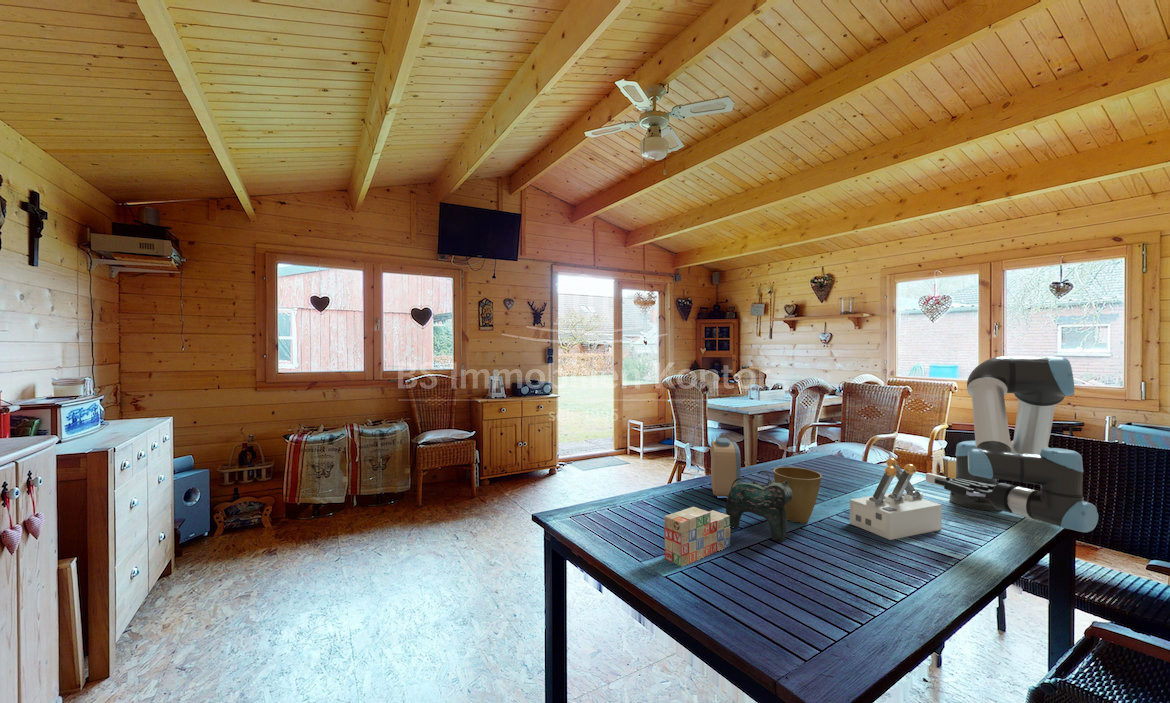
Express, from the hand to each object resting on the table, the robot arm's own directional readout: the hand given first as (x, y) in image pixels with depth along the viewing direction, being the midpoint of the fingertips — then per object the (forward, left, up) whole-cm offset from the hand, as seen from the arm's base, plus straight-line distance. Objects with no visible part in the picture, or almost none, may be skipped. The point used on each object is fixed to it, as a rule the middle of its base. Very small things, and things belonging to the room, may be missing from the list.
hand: (927, 477), depth 150 cm
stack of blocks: (+79, -10, -17) cm, 82 cm away
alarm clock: (+39, -52, -17) cm, 67 cm away
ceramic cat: (+54, -16, -17) cm, 59 cm away
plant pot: (+33, -21, -17) cm, 43 cm away
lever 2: (0, -4, -8) cm, 9 cm away
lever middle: (+8, -5, -8) cm, 13 cm away
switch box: (+8, -5, -16) cm, 19 cm away
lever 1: (+17, -5, -8) cm, 19 cm away
